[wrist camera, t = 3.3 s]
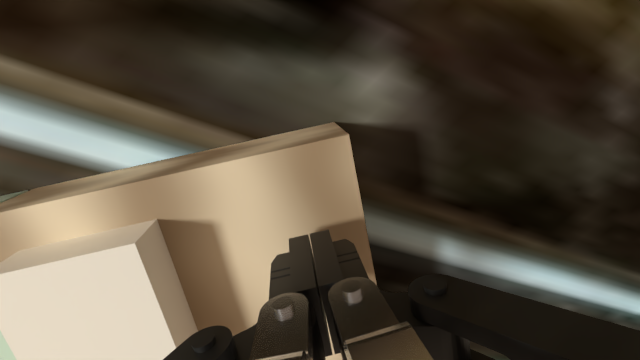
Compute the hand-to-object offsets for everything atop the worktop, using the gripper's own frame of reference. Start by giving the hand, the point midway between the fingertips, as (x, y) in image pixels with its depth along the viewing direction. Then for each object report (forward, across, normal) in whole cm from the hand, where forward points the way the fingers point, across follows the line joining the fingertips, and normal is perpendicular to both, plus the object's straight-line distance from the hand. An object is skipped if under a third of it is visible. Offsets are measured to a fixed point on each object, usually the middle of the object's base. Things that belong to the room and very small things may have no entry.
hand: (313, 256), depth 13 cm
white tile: (+1, +8, 0) cm, 8 cm away
